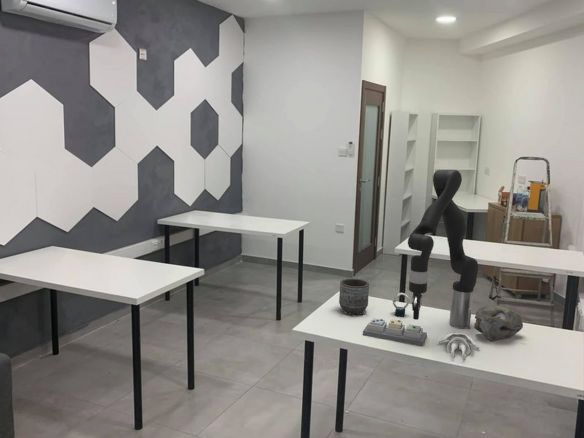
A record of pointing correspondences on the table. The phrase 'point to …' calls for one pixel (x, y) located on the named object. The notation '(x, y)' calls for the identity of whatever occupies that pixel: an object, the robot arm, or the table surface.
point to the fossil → (497, 322)
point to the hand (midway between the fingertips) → (415, 318)
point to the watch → (400, 310)
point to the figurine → (458, 343)
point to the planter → (353, 295)
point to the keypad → (395, 334)
